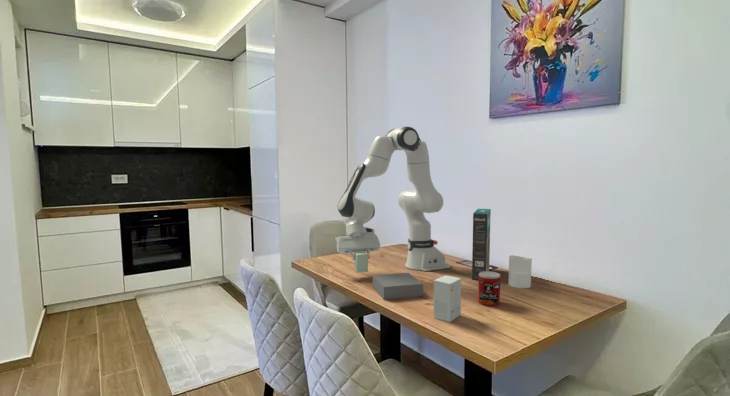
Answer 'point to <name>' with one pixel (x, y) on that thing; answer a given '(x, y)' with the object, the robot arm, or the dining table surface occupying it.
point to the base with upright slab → (520, 271)
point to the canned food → (489, 288)
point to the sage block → (361, 262)
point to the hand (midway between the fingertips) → (361, 259)
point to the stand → (397, 286)
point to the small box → (447, 298)
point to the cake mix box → (481, 242)
